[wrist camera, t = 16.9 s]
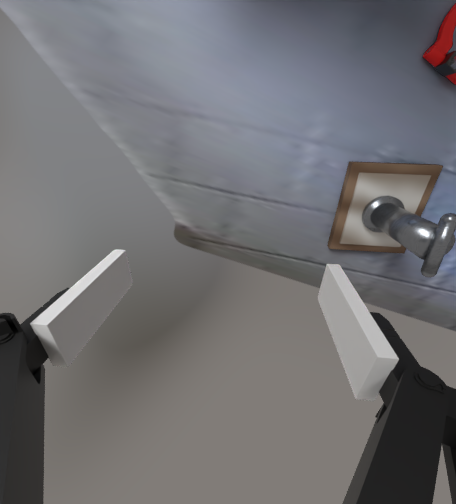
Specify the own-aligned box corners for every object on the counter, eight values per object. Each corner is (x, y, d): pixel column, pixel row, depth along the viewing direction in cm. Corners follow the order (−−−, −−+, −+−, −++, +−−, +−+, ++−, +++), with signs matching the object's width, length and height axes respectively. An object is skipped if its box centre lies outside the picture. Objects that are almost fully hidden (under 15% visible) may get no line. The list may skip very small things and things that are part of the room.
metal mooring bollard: (367, 189, 38) (426, 216, 26) (407, 188, 38) (489, 214, 25) (357, 236, 42) (404, 279, 30) (393, 235, 42) (458, 279, 29)
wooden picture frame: (349, 161, 39) (353, 163, 37) (436, 164, 38) (445, 166, 36) (327, 245, 46) (330, 249, 44) (399, 249, 45) (405, 254, 43)
